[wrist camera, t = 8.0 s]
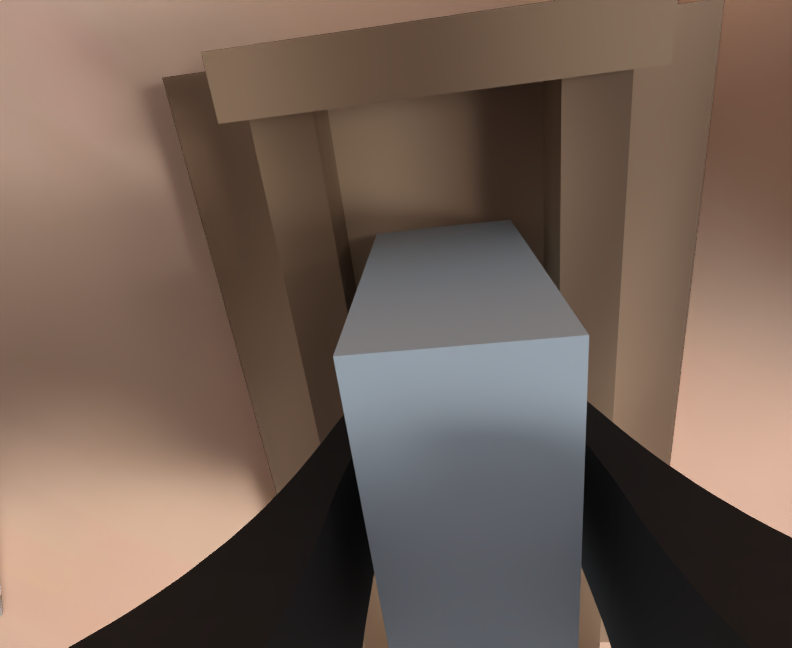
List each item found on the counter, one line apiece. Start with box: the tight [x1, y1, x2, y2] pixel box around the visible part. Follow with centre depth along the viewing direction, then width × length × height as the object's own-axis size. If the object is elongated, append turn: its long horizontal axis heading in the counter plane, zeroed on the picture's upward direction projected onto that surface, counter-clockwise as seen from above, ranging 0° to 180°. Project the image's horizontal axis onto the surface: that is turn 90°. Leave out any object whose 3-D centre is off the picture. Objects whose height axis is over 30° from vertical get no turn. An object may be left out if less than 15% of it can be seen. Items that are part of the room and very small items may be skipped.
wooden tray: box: [163, 0, 725, 648], centre depth 13 cm, size 11×18×4 cm, turn 7°
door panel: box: [333, 220, 589, 648], centre depth 10 cm, size 3×8×6 cm, turn 7°
